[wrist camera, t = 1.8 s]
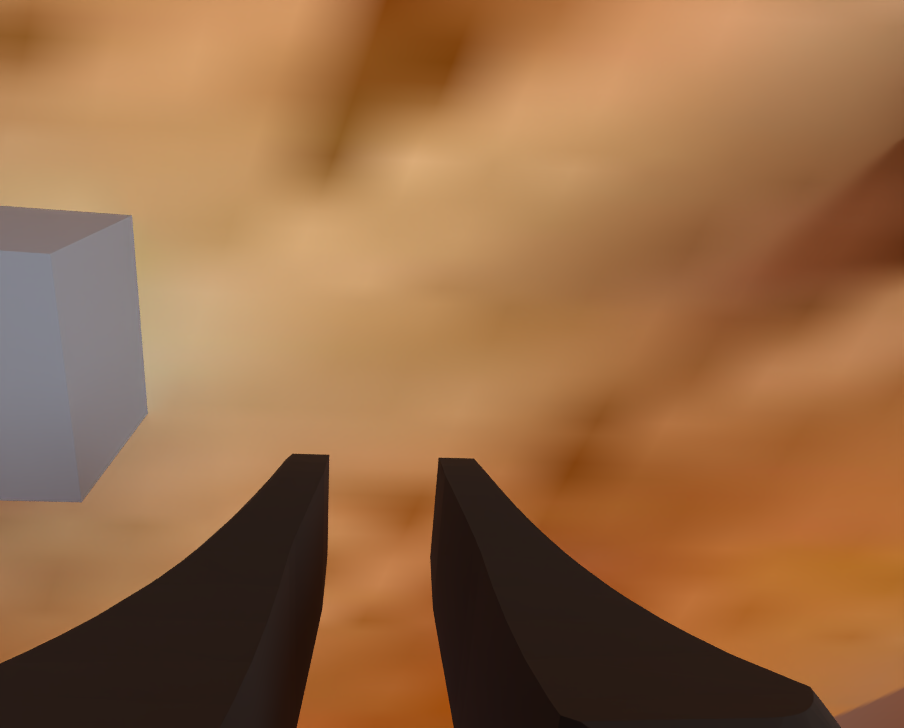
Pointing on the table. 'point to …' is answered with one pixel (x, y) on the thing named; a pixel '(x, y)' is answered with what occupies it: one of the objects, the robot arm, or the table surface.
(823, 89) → the table surface
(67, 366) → the slate block
